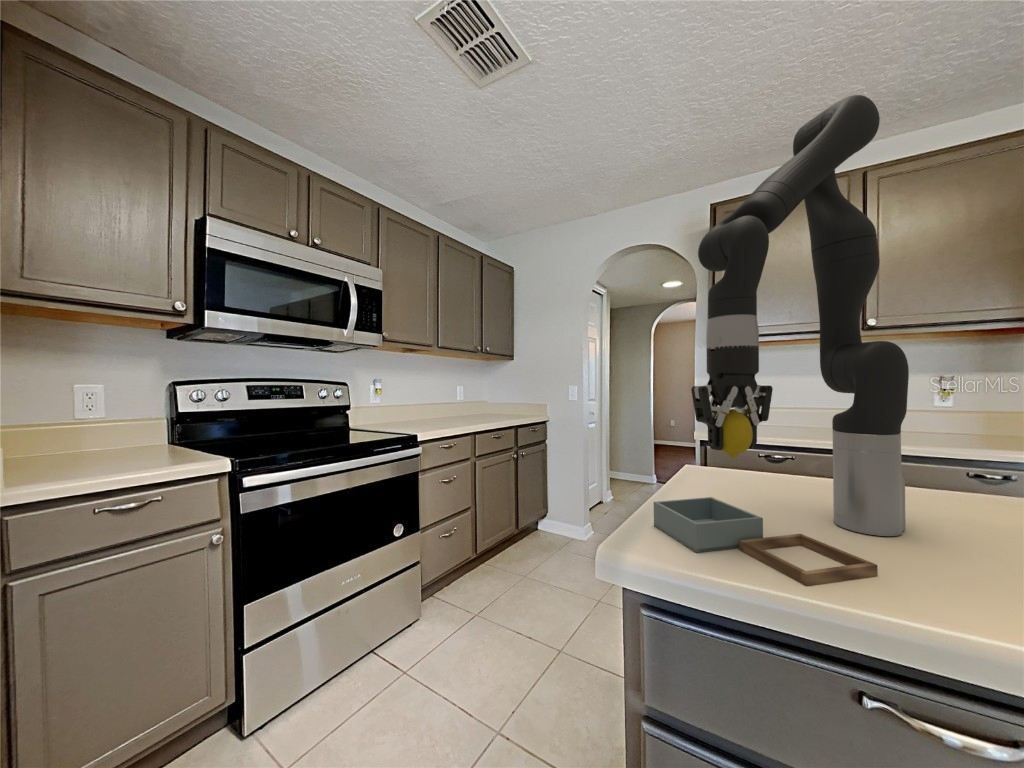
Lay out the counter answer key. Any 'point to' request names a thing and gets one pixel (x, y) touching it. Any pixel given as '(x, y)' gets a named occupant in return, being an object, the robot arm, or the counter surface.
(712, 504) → the bin
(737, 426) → the lemon
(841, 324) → the robot arm
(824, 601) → the counter surface
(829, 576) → the tray
